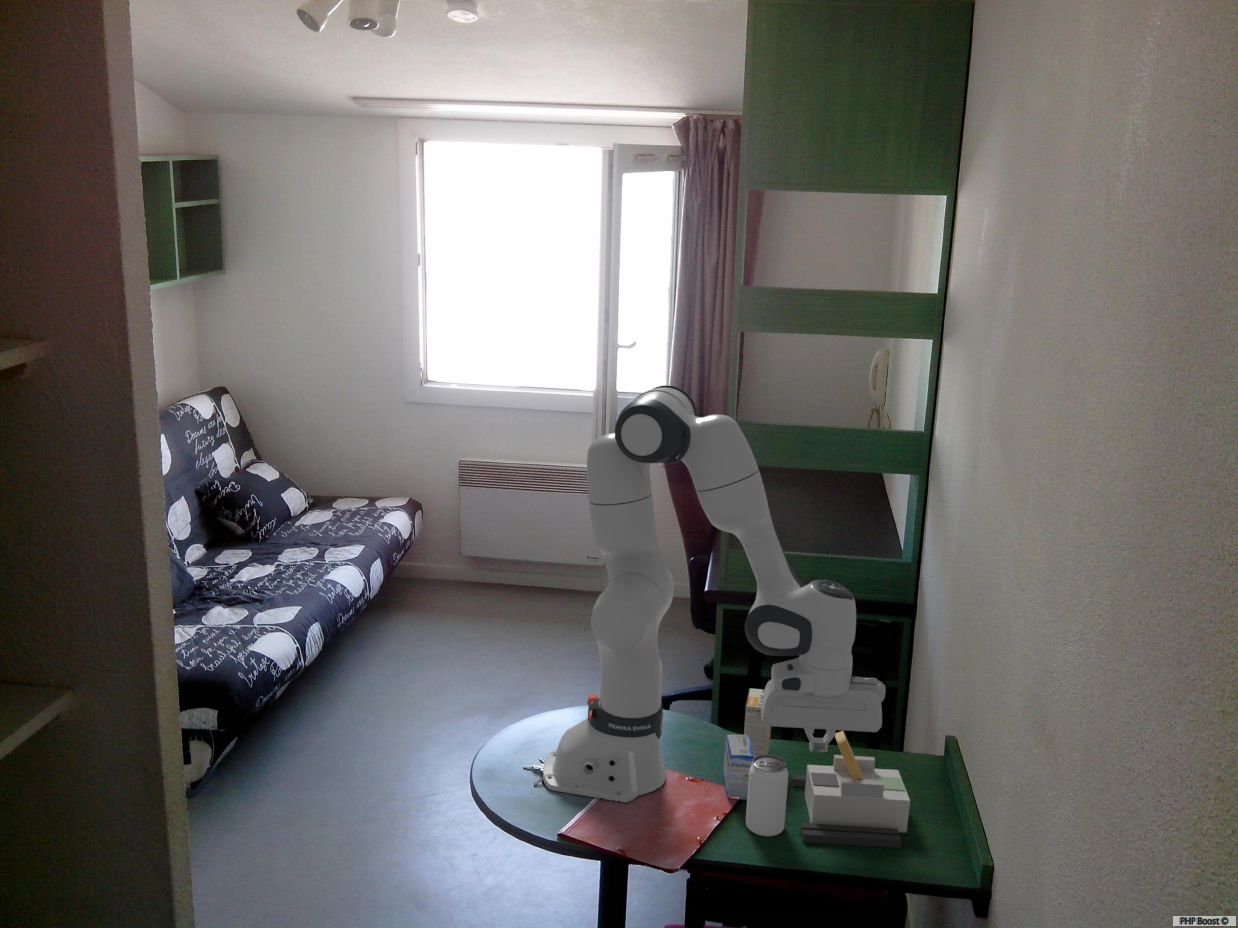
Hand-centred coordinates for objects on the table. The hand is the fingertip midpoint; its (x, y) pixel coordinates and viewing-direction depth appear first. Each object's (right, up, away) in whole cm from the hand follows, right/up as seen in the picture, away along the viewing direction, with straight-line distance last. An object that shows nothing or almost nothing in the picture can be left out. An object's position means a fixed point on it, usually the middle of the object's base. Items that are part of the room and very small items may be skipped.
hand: (818, 749), depth 181 cm
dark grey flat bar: (+4, -13, -4) cm, 15 cm away
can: (-10, -13, -3) cm, 16 cm away
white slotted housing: (+7, -12, +2) cm, 14 cm away
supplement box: (-8, -7, +19) cm, 22 cm away
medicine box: (-13, -10, +9) cm, 18 cm away
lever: (+7, -5, +1) cm, 9 cm away
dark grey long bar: (+5, -10, +11) cm, 15 cm away
